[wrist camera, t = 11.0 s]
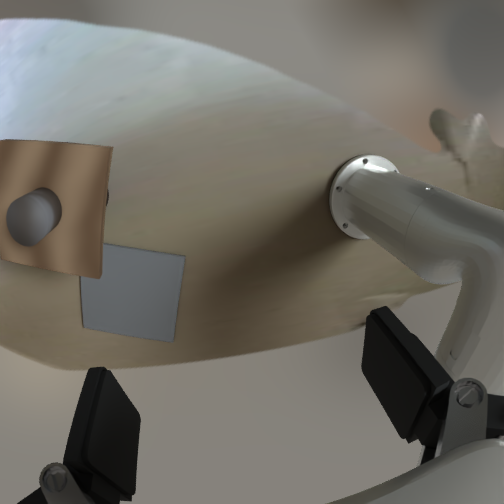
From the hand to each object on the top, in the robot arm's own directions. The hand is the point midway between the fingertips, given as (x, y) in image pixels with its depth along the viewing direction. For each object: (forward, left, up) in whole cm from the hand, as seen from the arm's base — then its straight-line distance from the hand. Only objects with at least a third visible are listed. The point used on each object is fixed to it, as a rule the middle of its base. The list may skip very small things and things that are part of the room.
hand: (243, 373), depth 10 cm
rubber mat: (+9, +17, -30) cm, 36 cm away
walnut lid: (+17, +2, -20) cm, 26 cm away
